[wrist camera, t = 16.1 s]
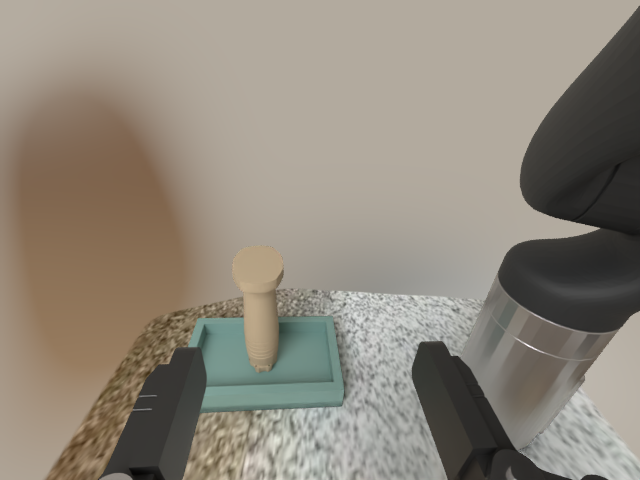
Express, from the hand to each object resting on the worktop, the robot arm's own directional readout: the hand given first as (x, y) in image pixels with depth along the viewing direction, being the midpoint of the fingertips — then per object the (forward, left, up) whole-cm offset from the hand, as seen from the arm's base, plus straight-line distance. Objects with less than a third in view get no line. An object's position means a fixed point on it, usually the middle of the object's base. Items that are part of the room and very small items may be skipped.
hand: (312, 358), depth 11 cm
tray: (+4, -18, -24) cm, 30 cm away
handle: (+4, -18, -23) cm, 29 cm away
